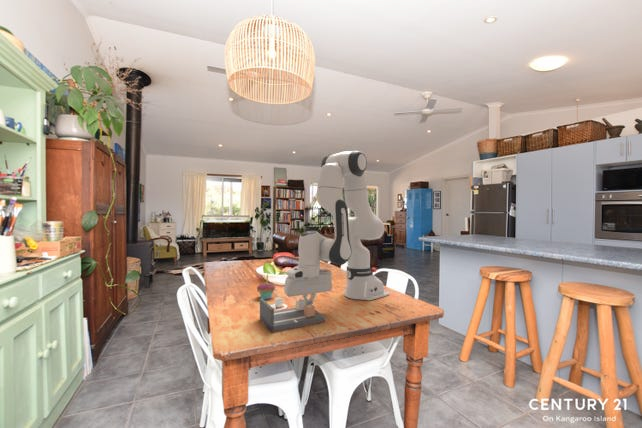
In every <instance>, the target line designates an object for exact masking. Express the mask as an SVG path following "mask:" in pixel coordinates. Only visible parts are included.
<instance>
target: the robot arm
mask: <svg viewBox="0 0 642 428" xmlns="http://www.w3.org/2000/svg"><path fill="white" fill-rule="evenodd" d="M367 164H368V163H367V157H366V156H365V154H364V152H362V151H360V150H351V151H349V150H348V151H340V152H337V153H333V154H332V153H331V154H327V155H325V156H324V157H323V158H322V160H321V164H320V165H321V167H320V171H319V175H318V181H317V186H316V187H317V188H316V200H317V203H318V205H320V207H321V208H323V209H324V210H326V211H327V212H328V213H330V214H331V216H332V218H333V228H334V238H329V237H326V236H323V235H321V234H320V233H319V231H318V230H307V231H303V232H301V233H300V235H299V239H298V249H297V250H298V251H297V252H298V253H297V254H298V256H299V257H298V258H299V259H298V264H297V265H296V266H294V267H292V268H290V269H288V270H287V271H286V275H287V277H286V278H285V281H284V294H285V295H286V296H287V297H288V298H291V297H298V296H301V297H302V299H304V300H306V305H310V304H312V305H314V300H315V297H316V295H317V294H318V293H326V292H331V291H332V289H333V285H332V283H333V282H332V272H331V270H330V269H328V268H325V269H323V268H321V267H320V266H321V261H325V262H328V263H333V264H335V265H337V266H343V265H345V264H346V263H347V266H346V284H345V290H344V294H343V295H344V296H345V297H347V299H348V298H349V299H353V300H361V301H362V300H363V301H373V300H376V299H379V298H383V297H387V296H389V291H387V290H385V286H384V283H383V282H382V280H380V278H378V277H377V276H376V275H374V273H376V272H377V267H371V253H370V252H371V251H370V250H369V249H368V248H367V247H366V246H365V245H363V244H362V243H363V242H361V241H362V240H367V241H372V240H378V239H379V240H380V239H381V237H383V236H384V233H385V223H384V222H383V221H382V219H381V218H379V217H378V216H377V215H376V214H375V213H374V211H373V210H372V208H371V206H370V203H369V202H370V201H369V193H368V183H367V179H366V173H365V171H366V168H367ZM343 189H344V190H343ZM343 192H344V193H343ZM343 194H344V195H343ZM348 209H349V210H351V211H352V212H353V213H354V215H355V216H349V211H348ZM320 268H321V269H320ZM373 272H374V273H373ZM308 295H310V297H309V299H307V298H308Z"/></svg>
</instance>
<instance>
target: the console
mask: <svg viewBox="0 0 642 428" xmlns="http://www.w3.org/2000/svg"><path fill="white" fill-rule="evenodd" d="M270 305H271V304H269V303H268V302H267V301H266V299H263V298H261V297H260V298H259V320H260V321H261V323H263V325H264V326H265V327H266V329H268V331H269V332H270V333H276V332H281V331H285V330H290V329H291V330H292V329H296V328H300V327H306V326H310V325H316V324H321V323H325V321H326V320H325V319H326V318H325V316H324V315H323V314H322V313H320V312H319V311H317V310H316V309H315V316H311V317H307V316H305V315H304V310H298V309H296V307H293V308H285V309H282V310H274V309H273V308H272V307H271V306H270Z"/></svg>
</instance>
